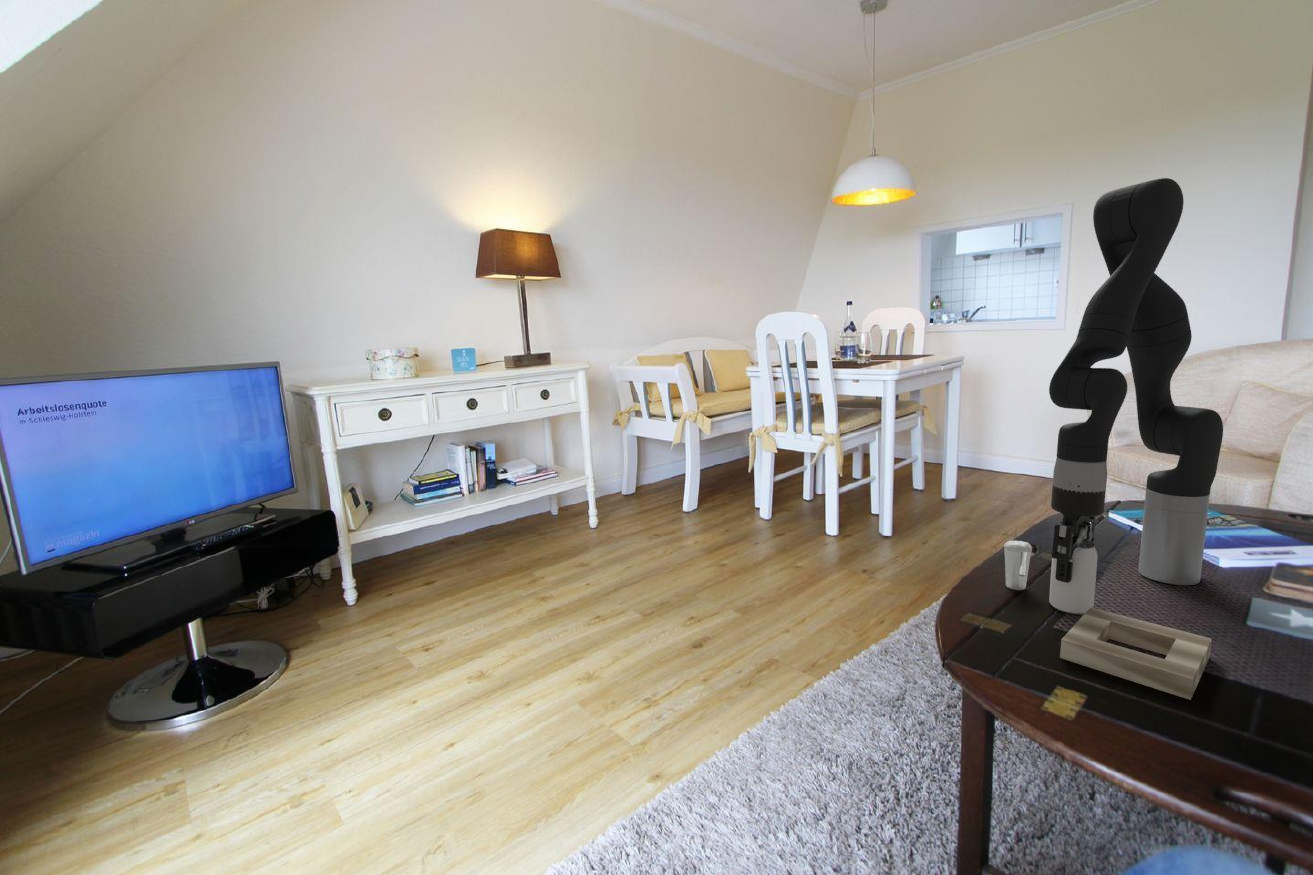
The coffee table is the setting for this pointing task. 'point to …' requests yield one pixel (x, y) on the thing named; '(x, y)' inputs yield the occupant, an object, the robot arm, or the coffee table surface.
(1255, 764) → the coffee table surface
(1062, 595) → the can
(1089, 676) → the coffee table surface
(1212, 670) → the coffee table surface
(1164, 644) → the socket block
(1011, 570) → the milkshake
